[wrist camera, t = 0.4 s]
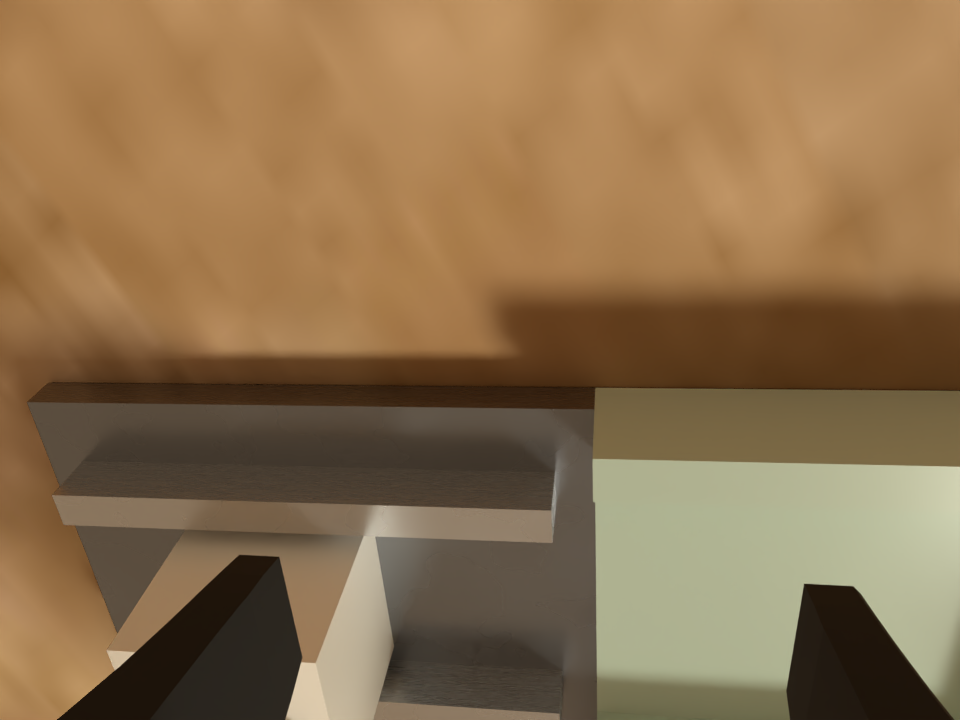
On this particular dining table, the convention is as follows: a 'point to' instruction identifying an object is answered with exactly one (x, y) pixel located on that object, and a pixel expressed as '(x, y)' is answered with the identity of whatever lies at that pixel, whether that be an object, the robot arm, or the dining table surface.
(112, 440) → the dock
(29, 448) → the dining table surface
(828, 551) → the tray
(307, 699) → the beige cardboard box
